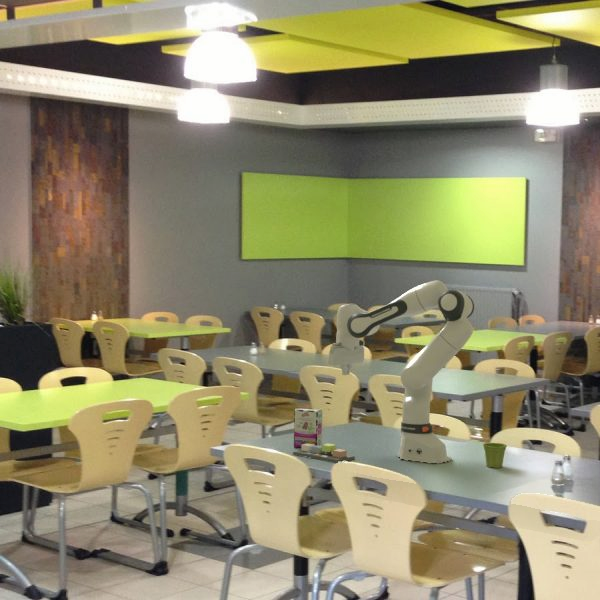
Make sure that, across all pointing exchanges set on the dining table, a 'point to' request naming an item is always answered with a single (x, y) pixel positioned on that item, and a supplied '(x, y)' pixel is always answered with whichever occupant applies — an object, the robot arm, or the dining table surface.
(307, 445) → the key ivory
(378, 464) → the dining table surface
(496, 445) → the plant pot
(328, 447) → the lime green cube
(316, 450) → the key slate
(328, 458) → the keypad board
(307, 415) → the candy bar box
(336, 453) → the salmon cube
